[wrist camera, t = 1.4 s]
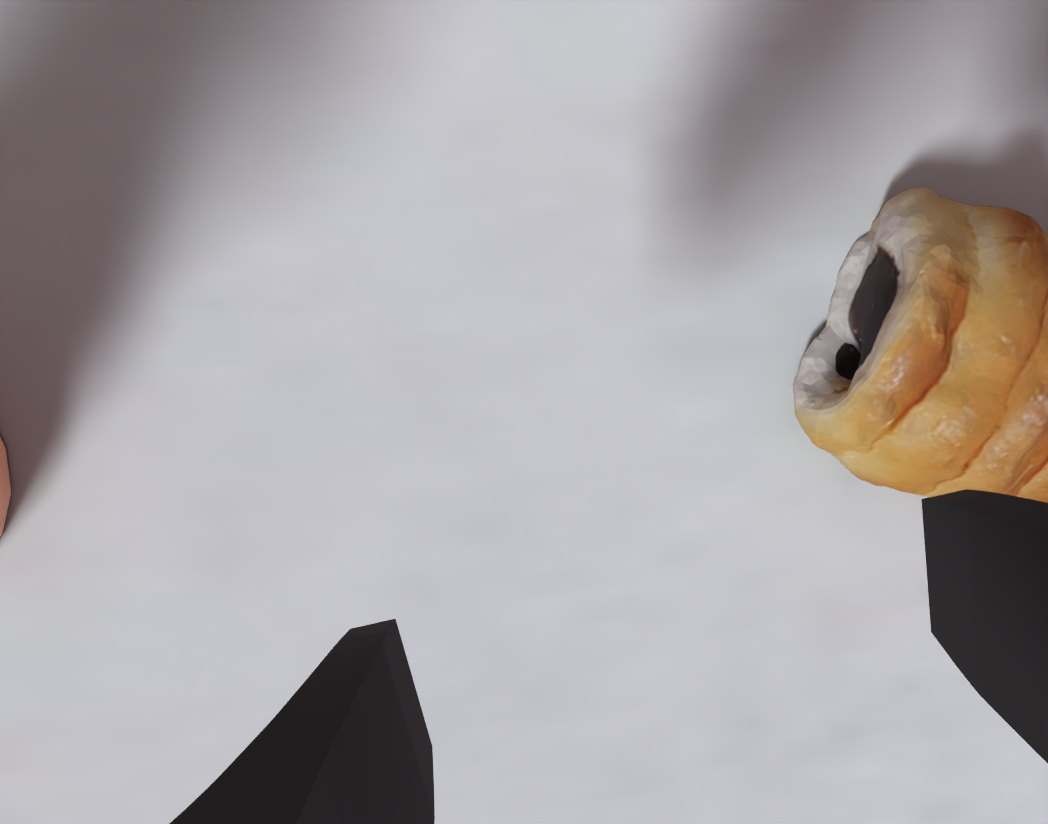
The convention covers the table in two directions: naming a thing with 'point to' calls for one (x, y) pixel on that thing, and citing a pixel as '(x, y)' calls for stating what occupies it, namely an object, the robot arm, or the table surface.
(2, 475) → the pepper shaker
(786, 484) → the table surface
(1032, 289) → the pastry
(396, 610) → the table surface
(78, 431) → the table surface
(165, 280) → the table surface
